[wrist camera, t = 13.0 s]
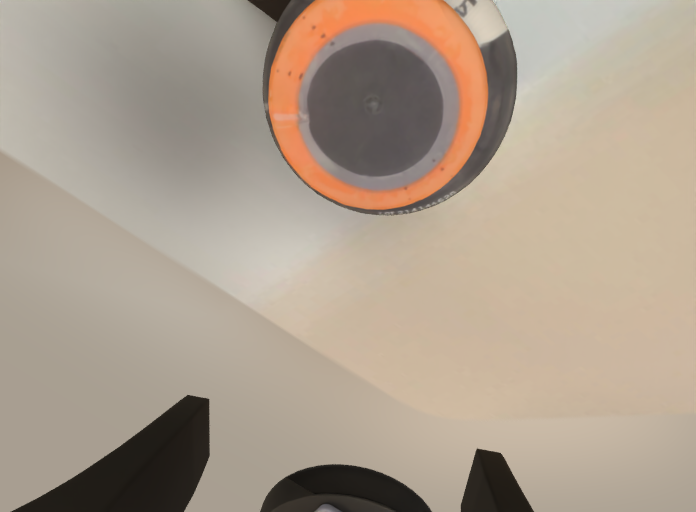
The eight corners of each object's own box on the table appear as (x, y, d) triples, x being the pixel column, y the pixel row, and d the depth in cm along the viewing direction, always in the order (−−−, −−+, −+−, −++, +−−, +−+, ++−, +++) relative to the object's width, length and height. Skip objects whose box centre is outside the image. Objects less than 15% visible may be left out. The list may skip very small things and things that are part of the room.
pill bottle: (432, -42, 17) (452, -199, 7) (505, 107, 19) (613, 166, 8) (297, 54, 19) (148, 47, 9) (373, 182, 20) (325, 308, 10)
